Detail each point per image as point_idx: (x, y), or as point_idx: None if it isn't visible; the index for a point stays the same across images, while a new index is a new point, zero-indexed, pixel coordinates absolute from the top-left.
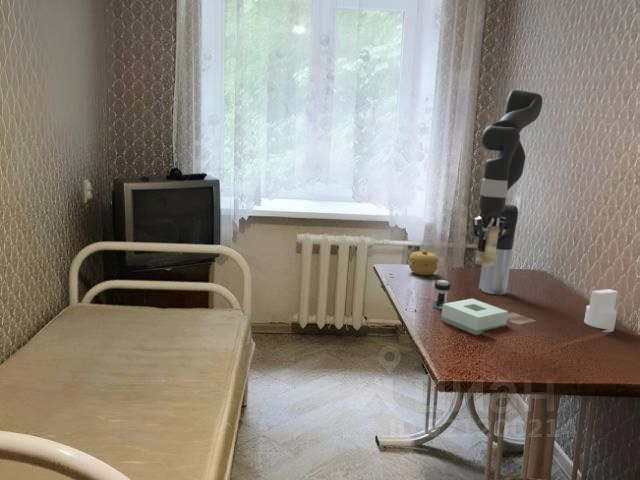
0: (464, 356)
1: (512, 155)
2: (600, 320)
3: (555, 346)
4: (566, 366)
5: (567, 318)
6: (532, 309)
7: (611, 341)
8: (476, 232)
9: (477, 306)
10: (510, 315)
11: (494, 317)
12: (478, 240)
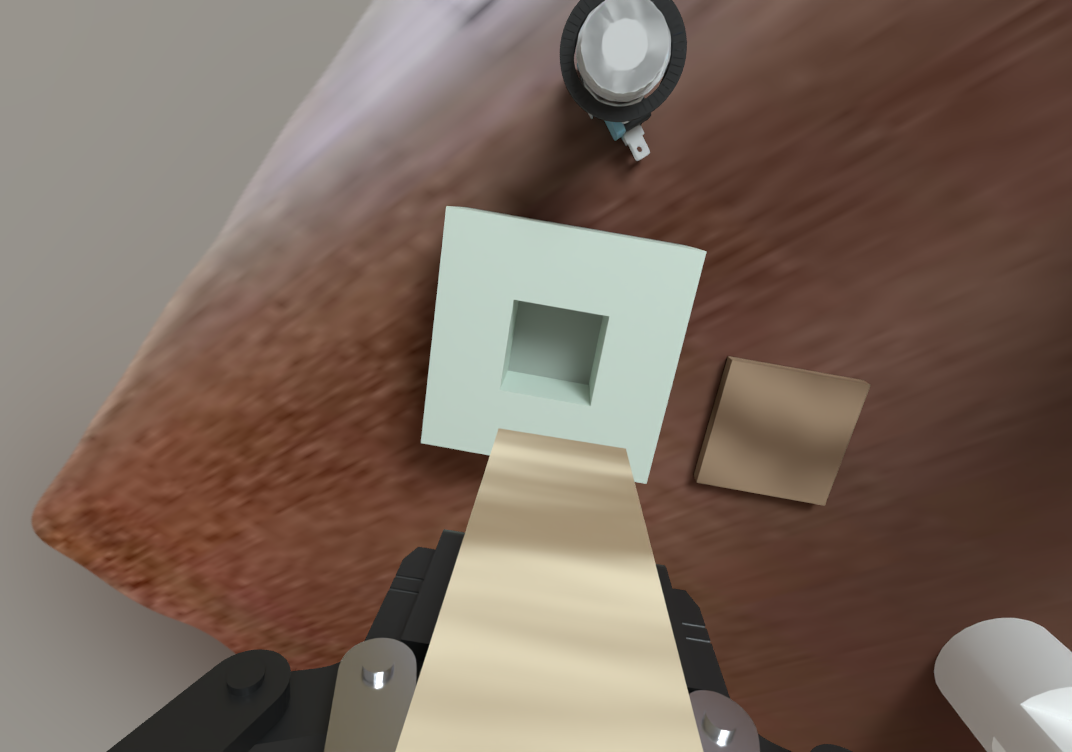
0: (222, 487)
1: None
2: (967, 718)
3: None
4: None
5: (1026, 554)
6: (1059, 399)
7: (834, 731)
8: (205, 749)
9: (603, 339)
10: (803, 401)
11: None
12: (370, 631)
